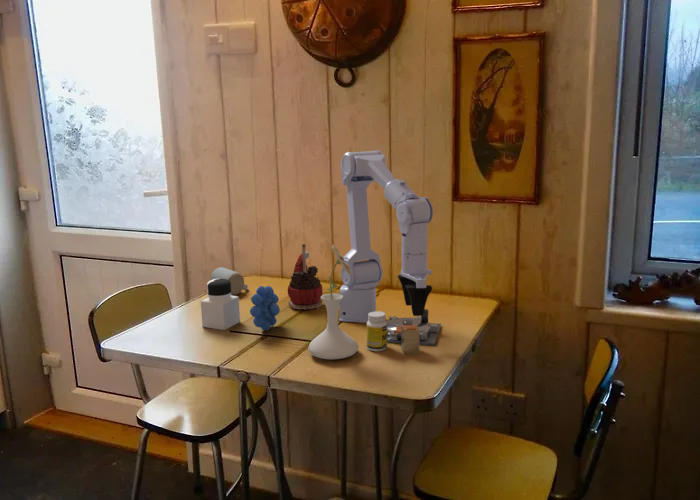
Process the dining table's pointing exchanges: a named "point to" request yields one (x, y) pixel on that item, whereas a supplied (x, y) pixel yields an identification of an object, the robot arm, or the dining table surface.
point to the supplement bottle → (376, 331)
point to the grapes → (264, 307)
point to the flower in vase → (333, 325)
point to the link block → (410, 339)
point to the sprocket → (421, 323)
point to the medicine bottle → (220, 306)
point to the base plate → (429, 341)
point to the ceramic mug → (230, 279)
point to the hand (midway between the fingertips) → (414, 310)
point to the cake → (304, 285)
